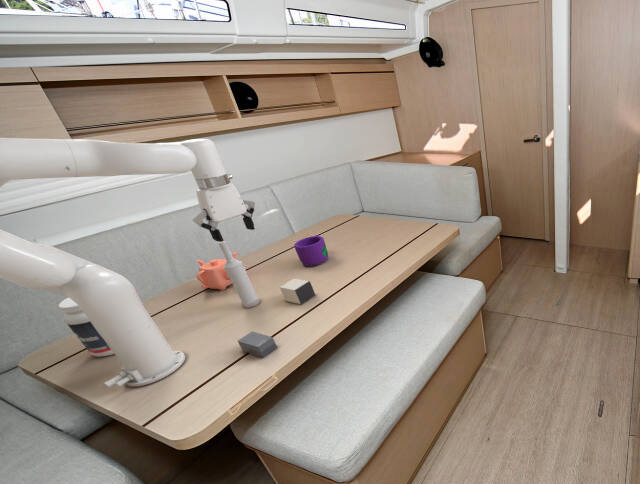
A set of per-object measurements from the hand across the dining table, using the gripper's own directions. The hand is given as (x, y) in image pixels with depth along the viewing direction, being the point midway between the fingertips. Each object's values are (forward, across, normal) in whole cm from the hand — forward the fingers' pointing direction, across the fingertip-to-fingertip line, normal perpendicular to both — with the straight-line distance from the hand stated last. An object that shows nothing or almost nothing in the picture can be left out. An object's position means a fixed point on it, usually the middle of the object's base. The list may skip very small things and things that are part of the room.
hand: (235, 234), depth 111 cm
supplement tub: (+29, +28, -29) cm, 50 cm away
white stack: (+28, -8, +6) cm, 30 cm away
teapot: (+28, -8, -35) cm, 45 cm away
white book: (+24, -8, +6) cm, 26 cm away
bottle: (+28, 0, -8) cm, 30 cm away
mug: (+28, -34, -14) cm, 46 cm away
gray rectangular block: (+29, +15, +19) cm, 37 cm away
